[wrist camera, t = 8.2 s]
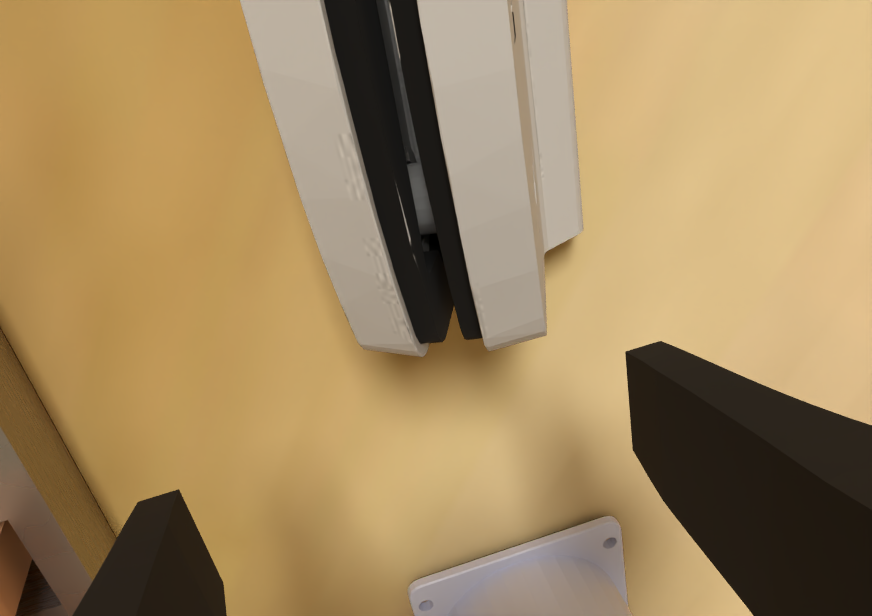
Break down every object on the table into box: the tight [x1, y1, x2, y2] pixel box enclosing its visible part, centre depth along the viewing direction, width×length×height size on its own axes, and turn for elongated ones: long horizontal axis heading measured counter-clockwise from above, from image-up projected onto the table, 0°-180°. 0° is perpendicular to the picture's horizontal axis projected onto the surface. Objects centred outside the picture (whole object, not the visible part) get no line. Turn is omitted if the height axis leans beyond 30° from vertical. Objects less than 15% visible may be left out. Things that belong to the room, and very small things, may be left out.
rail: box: [0, 329, 116, 616], centre depth 22 cm, size 24×5×2 cm, turn 11°
